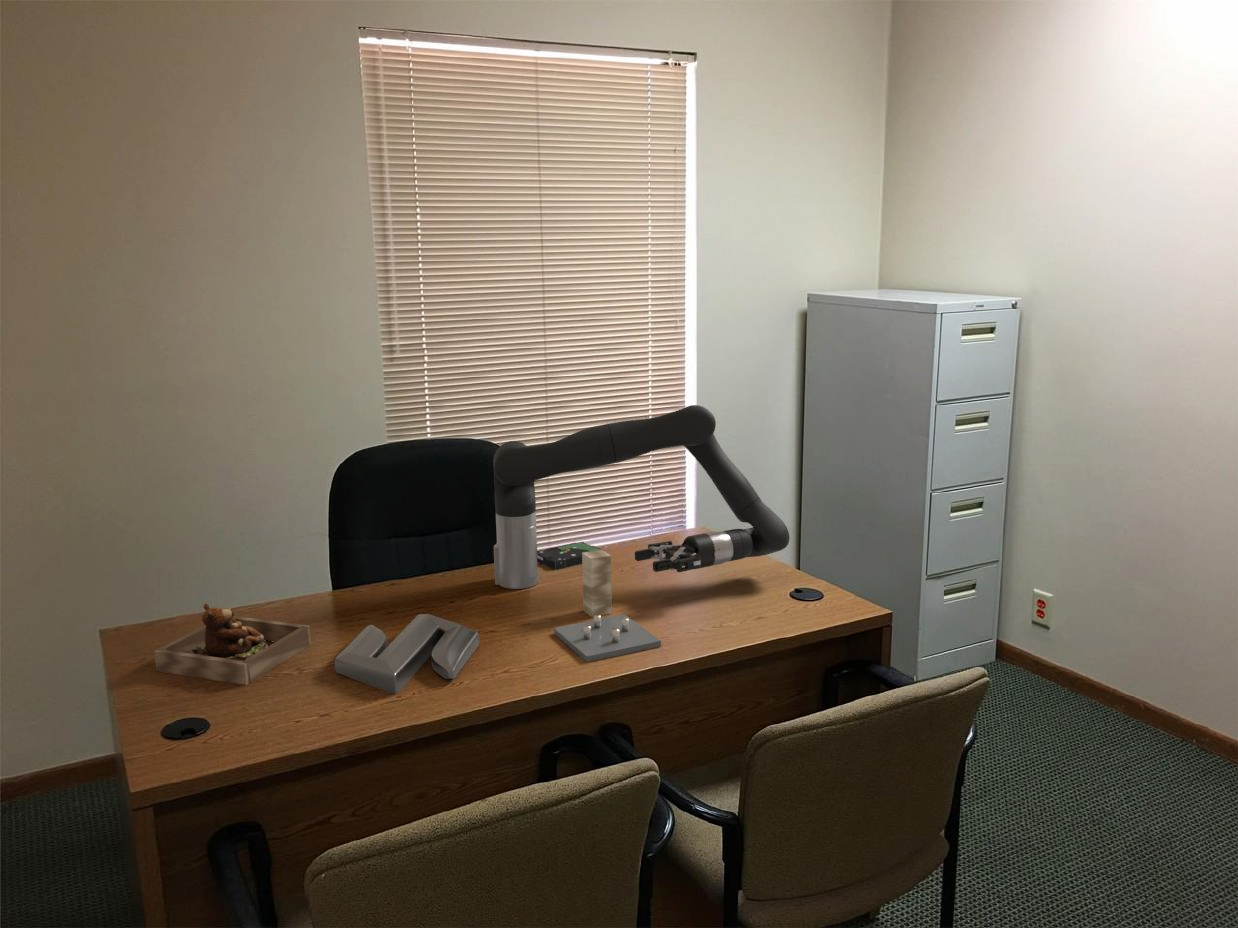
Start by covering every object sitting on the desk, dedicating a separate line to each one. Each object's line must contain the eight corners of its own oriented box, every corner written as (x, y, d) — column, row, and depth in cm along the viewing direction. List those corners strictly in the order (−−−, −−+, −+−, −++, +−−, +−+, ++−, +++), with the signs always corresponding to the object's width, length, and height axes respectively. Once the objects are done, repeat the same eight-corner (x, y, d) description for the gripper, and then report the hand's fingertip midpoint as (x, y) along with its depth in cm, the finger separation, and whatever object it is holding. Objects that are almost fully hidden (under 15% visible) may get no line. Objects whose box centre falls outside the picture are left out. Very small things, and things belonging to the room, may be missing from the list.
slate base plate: (586, 662, 189) (586, 644, 188) (554, 633, 203) (553, 616, 202) (661, 646, 195) (660, 628, 195) (624, 619, 209) (624, 602, 209)
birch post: (592, 617, 211) (591, 558, 208) (583, 610, 215) (582, 552, 212) (611, 613, 213) (610, 555, 210) (602, 606, 217) (601, 549, 214)
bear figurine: (278, 661, 191) (273, 601, 189) (195, 680, 184) (188, 618, 181) (263, 638, 203) (257, 581, 200) (183, 655, 195) (177, 596, 192)
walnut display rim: (156, 671, 187) (154, 651, 186) (227, 632, 205) (225, 614, 204) (246, 685, 181) (244, 664, 180) (311, 644, 199) (309, 625, 198)
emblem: (499, 649, 183) (344, 677, 172) (500, 676, 184) (346, 705, 173) (461, 600, 208) (323, 622, 197) (462, 624, 209) (325, 647, 198)
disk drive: (556, 572, 241) (605, 559, 250) (555, 561, 241) (605, 549, 249) (533, 562, 249) (581, 550, 258) (533, 551, 249) (581, 539, 257)
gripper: (691, 525, 229) (629, 536, 222) (724, 541, 217) (659, 553, 210) (692, 557, 231) (629, 568, 224) (725, 574, 218) (660, 587, 211)
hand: (644, 561), depth 217 cm, fingers open, 8 cm apart
